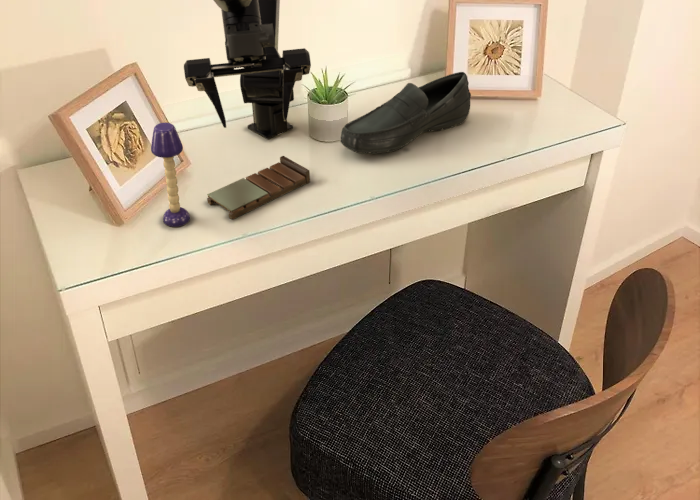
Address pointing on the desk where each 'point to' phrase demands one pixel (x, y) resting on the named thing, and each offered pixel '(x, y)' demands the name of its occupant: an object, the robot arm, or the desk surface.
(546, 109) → the desk surface
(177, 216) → the toy lamp
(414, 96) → the loafer
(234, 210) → the toy bed
